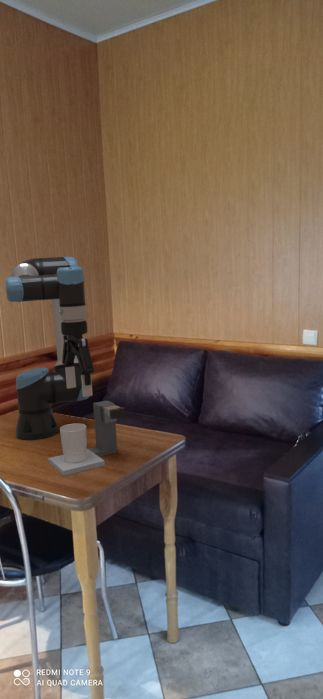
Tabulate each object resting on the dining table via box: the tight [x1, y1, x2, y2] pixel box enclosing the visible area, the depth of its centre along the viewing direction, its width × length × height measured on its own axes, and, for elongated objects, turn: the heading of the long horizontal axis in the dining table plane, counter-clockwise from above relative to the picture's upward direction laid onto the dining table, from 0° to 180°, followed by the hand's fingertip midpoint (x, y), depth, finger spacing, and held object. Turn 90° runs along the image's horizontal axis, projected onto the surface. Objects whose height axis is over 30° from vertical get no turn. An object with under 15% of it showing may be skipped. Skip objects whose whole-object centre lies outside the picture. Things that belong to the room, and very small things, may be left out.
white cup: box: [59, 423, 88, 463], centre depth 161 cm, size 8×8×10 cm
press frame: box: [48, 400, 118, 477], centre depth 162 cm, size 13×21×16 cm, turn 121°
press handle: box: [101, 403, 127, 423], centre depth 163 cm, size 8×4×5 cm, turn 31°
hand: (79, 391), depth 158 cm, fingers open, 13 cm apart
